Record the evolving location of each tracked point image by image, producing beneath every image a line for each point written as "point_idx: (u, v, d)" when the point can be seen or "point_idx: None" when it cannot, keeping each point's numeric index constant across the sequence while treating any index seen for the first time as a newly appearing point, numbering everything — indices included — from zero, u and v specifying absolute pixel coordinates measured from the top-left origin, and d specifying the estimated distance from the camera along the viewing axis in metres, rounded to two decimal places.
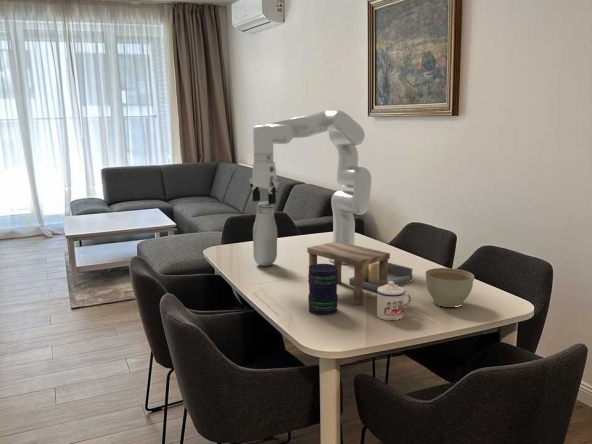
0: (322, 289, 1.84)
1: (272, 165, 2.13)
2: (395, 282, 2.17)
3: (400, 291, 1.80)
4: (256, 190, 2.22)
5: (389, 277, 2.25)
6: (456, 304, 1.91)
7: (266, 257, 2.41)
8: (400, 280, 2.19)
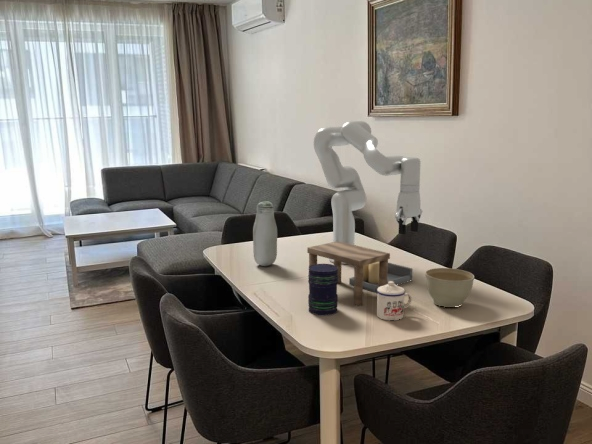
0: (322, 289, 1.84)
1: None
2: (395, 282, 2.17)
3: (400, 291, 1.80)
4: None
5: (389, 277, 2.25)
6: (456, 304, 1.91)
7: (266, 257, 2.41)
8: (400, 280, 2.19)
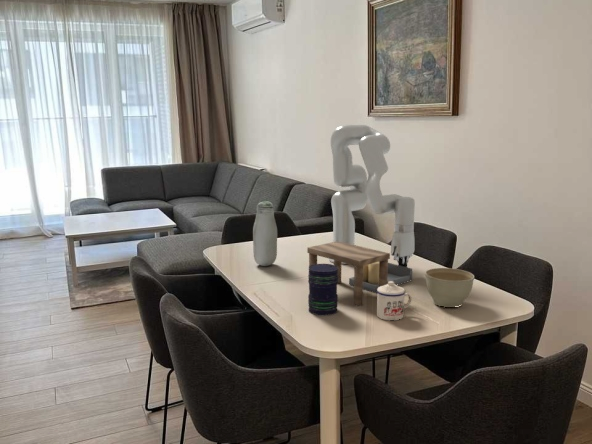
0: (322, 289, 1.84)
1: None
2: (395, 282, 2.17)
3: (400, 291, 1.80)
4: None
5: (389, 277, 2.25)
6: (456, 304, 1.91)
7: (266, 257, 2.41)
8: (400, 280, 2.19)
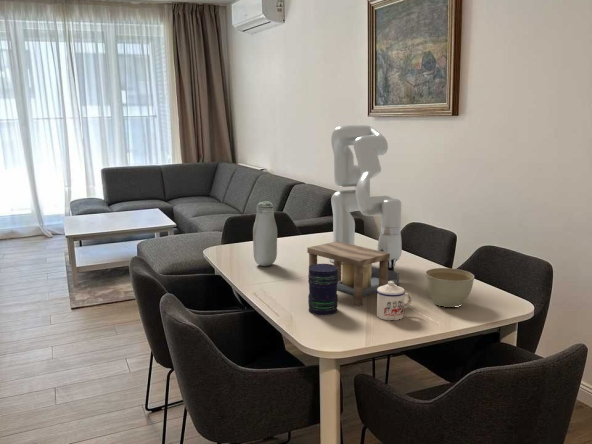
0: (322, 289, 1.84)
1: None
2: None
3: (400, 291, 1.80)
4: None
5: (375, 281, 2.19)
6: (456, 304, 1.91)
7: (266, 257, 2.41)
8: None
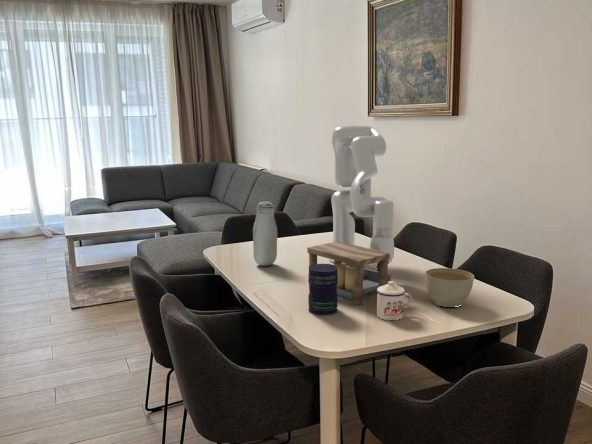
0: (322, 289, 1.84)
1: None
2: (373, 289, 2.08)
3: (400, 291, 1.80)
4: None
5: (367, 284, 2.16)
6: (456, 304, 1.91)
7: (266, 257, 2.41)
8: (378, 287, 2.10)
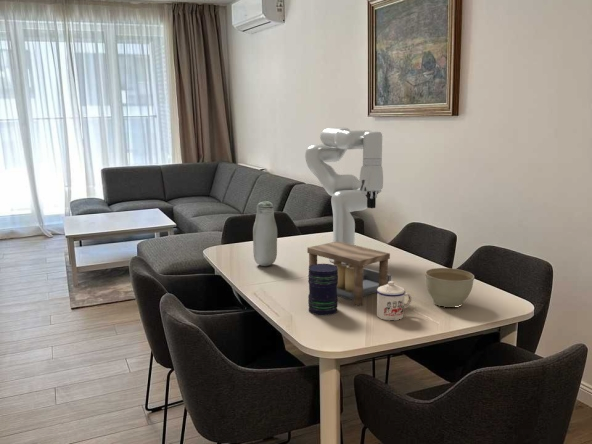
0: (322, 289, 1.84)
1: None
2: (373, 289, 2.08)
3: (400, 291, 1.80)
4: None
5: (367, 284, 2.16)
6: (456, 304, 1.91)
7: (266, 257, 2.41)
8: (378, 287, 2.10)
